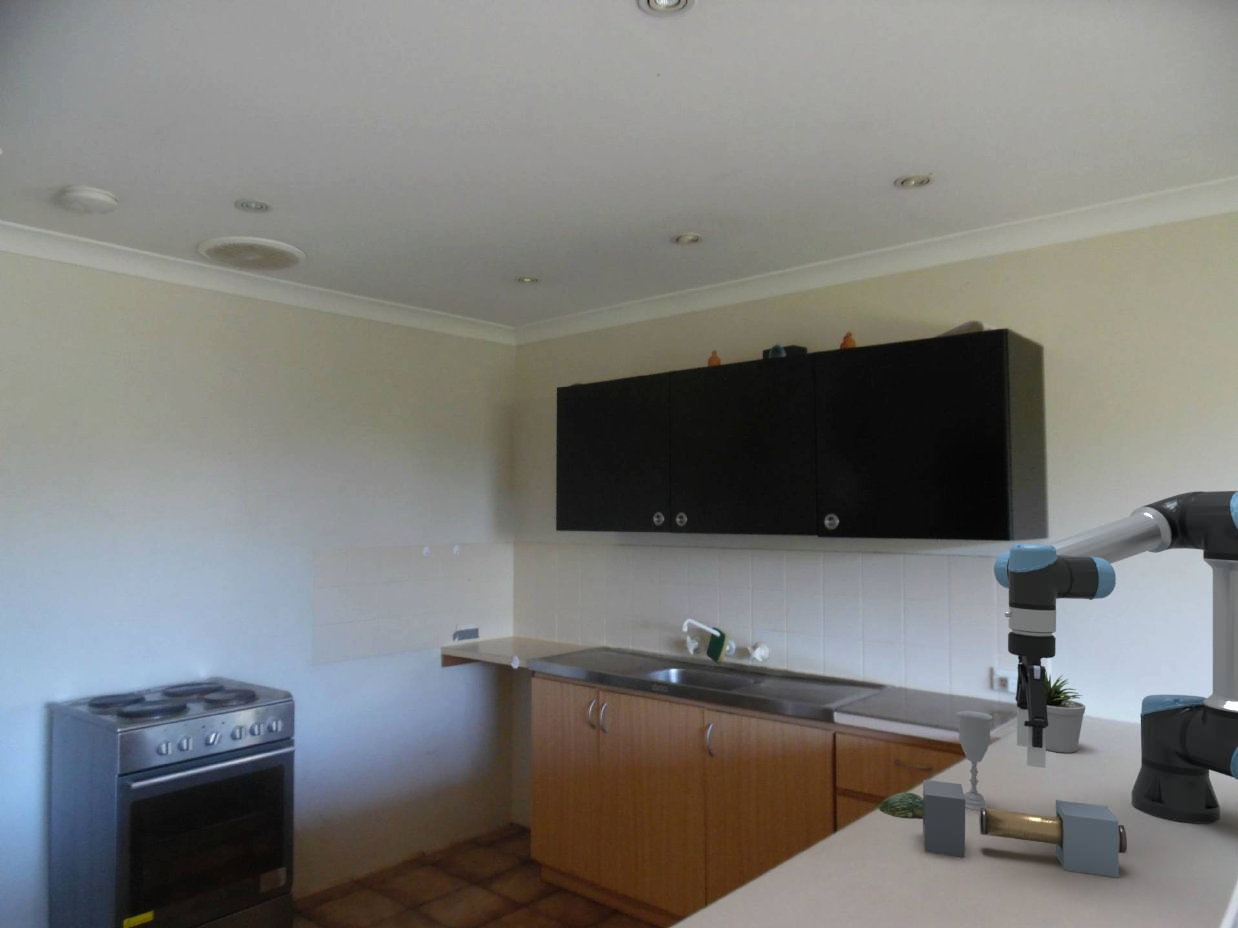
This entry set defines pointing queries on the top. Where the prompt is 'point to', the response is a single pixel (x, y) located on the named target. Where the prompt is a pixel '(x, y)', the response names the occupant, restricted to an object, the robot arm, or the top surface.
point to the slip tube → (1029, 827)
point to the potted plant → (1062, 718)
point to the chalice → (974, 749)
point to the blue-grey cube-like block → (1088, 839)
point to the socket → (943, 818)
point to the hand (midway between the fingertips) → (1030, 755)
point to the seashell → (903, 805)
